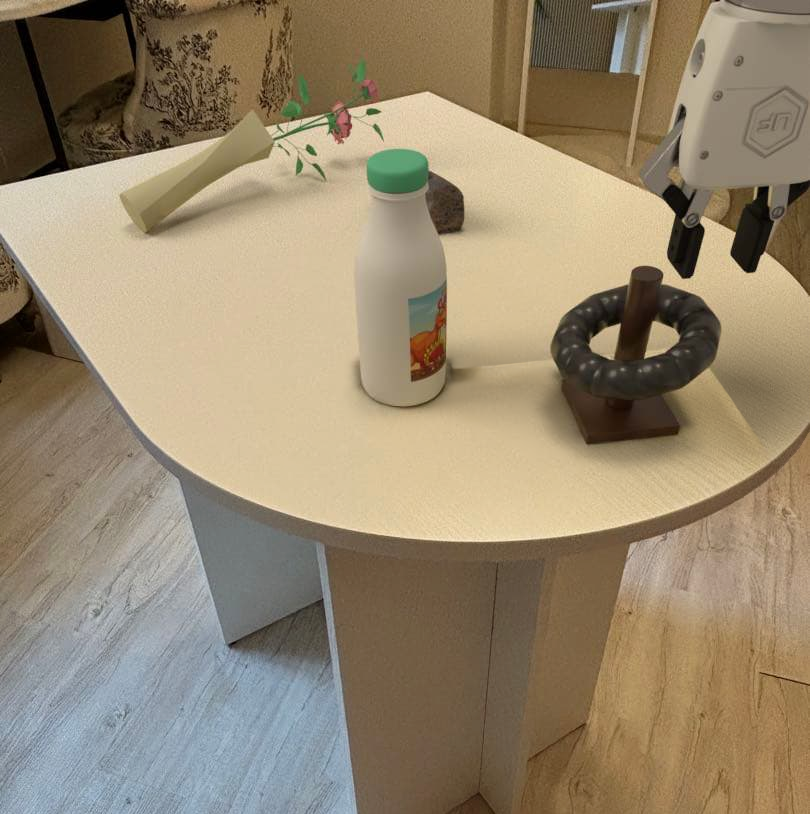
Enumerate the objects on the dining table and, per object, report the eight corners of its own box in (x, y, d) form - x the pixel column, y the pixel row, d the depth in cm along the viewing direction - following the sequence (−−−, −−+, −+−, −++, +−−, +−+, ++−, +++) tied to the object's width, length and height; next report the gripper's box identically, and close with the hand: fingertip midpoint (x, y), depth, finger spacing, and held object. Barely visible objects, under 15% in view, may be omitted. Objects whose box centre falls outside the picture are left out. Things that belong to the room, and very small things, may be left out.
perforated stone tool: (357, 210, 98) (353, 151, 92) (392, 198, 100) (390, 140, 95) (432, 256, 89) (432, 195, 84) (468, 243, 91) (470, 181, 86)
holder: (646, 379, 73) (679, 243, 63) (678, 434, 67) (719, 295, 58) (560, 388, 72) (581, 252, 63) (586, 444, 67) (612, 305, 57)
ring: (681, 291, 69) (682, 260, 67) (747, 378, 61) (750, 346, 58) (536, 333, 70) (532, 304, 68) (580, 425, 62) (577, 396, 59)
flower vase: (157, 274, 103) (361, 141, 112) (191, 284, 94) (410, 139, 103) (102, 185, 96) (325, 51, 105) (132, 187, 86) (373, 40, 95)
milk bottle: (381, 418, 70) (368, 188, 55) (349, 371, 74) (329, 149, 60) (460, 395, 72) (468, 168, 57) (423, 351, 76) (422, 131, 62)
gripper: (677, 5, 44) (619, 302, 57) (962, -13, 45) (840, 282, 59) (633, -28, 49) (589, 253, 62) (890, -43, 50) (793, 235, 64)
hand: (711, 264), depth 60 cm, fingers open, 4 cm apart
